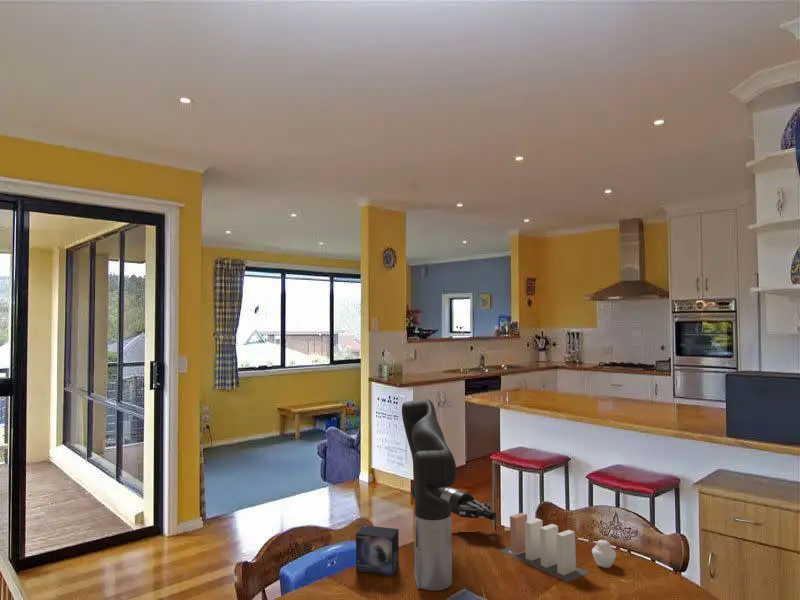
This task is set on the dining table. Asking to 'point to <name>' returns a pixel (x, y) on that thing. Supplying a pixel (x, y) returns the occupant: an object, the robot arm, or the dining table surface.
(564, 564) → the ivory domino
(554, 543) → the ivory domino
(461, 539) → the dining table surface
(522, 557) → the domino mat
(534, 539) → the ivory domino
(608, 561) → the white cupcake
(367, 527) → the small box
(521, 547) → the terracotta domino
